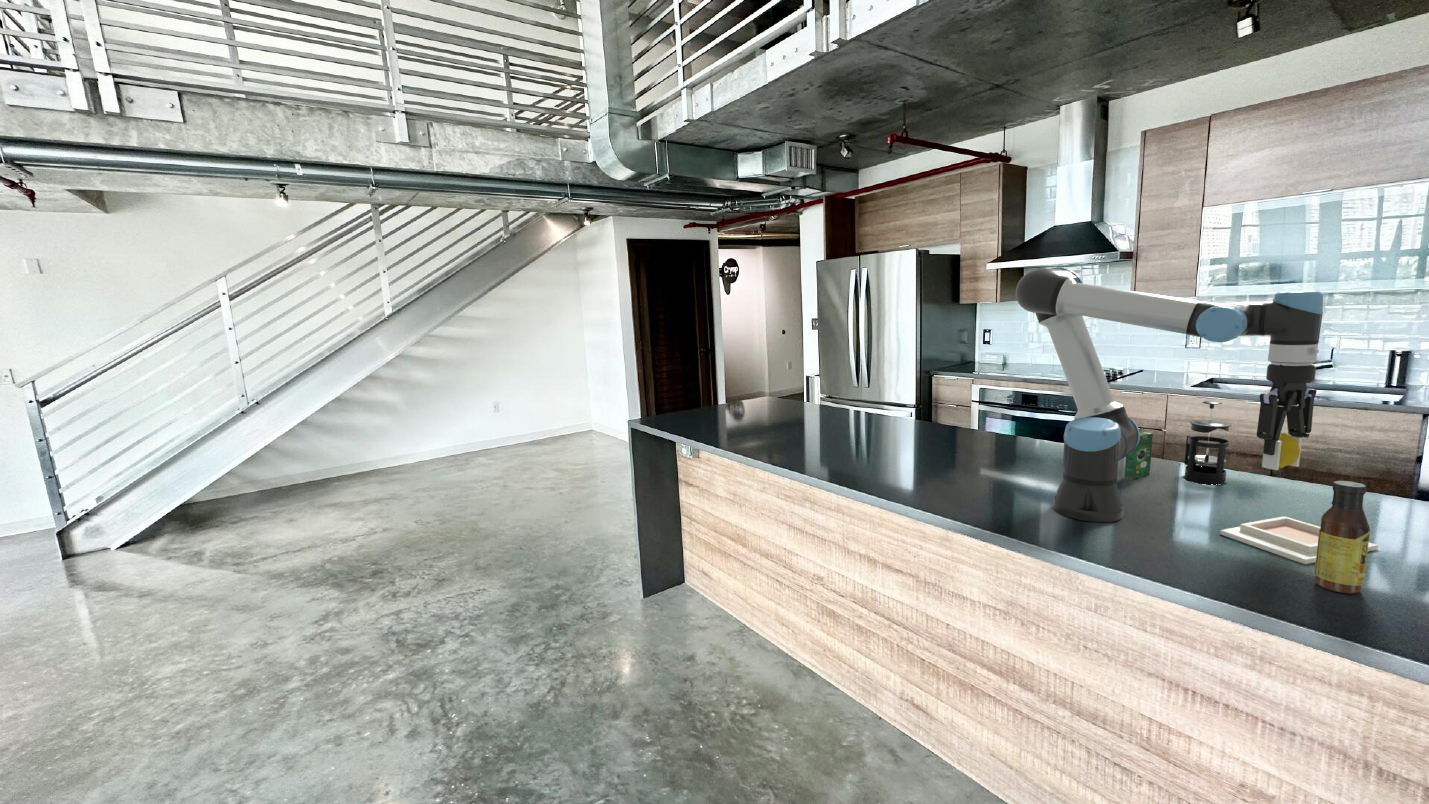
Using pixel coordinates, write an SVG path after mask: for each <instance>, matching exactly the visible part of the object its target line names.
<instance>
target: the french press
mask: <svg viewBox="0 0 1429 804" xmlns="http://www.w3.org/2000/svg"><path fill="white" fill-rule="evenodd" d="M1202 404H1205V405H1209V409H1210V411H1209V412H1210V413H1209V419H1191V420H1189V424H1191V425H1190V429H1191V430H1192V431H1194V432H1198V433H1203V434H1207V435H1186V441H1185V450H1184V451H1185V453H1184V462H1183V463H1184V465H1185V467H1184V468H1185V469H1184V475H1183V479H1184V480H1185V481H1186V482H1189V483H1193V484H1197V485H1202V484H1206V485H1205V486H1212V485H1211V484H1213V485H1216V484H1217V485H1218V484H1225V483H1226V484H1227V470H1226V469H1224V467H1225V464H1226V462H1227V460H1226V459H1225V457H1226V449H1227V448H1230V440H1228V439H1226V438H1221V437H1217V436H1216V437H1215V436H1211V432H1214V431H1215V430H1222V431H1226V432H1229V431H1230V427H1232V423H1230V422H1227V421H1224V420H1223V421H1221V420H1214V419H1212V417H1213V416H1212V415H1213V410H1214V408H1215V406H1216V405H1222V404H1223V402H1220V401H1216V400H1205V401H1202ZM1202 441H1203V442H1202ZM1204 441H1205V442H1204ZM1210 442H1213V443H1210ZM1198 448H1205V449H1206V452H1205V453H1206V454H1198V450H1199V449H1198ZM1209 449H1217V456H1215V455H1209ZM1201 466H1202V467H1201ZM1226 484H1225V485H1226Z"/></svg>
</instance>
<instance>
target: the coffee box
mask: <svg viewBox="0 0 1429 804" xmlns="http://www.w3.org/2000/svg"><path fill="white" fill-rule="evenodd" d="M1153 436H1154V433H1153V432H1147V431H1141V432H1140V439H1139V443H1138V445H1137V446H1136V448H1135V449H1134V451H1133V452H1132V453H1131V454H1130V455H1128V456H1126V457H1125V465H1124V476H1123V477H1124V478H1126V479H1129V480H1136V479H1139V478H1140V479H1141V478H1143V477H1148V476H1150V473H1151V472H1150V471H1151V460H1152V459H1151V458H1152V447H1153V440H1154V439H1153V438H1154V437H1153Z"/></svg>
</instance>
